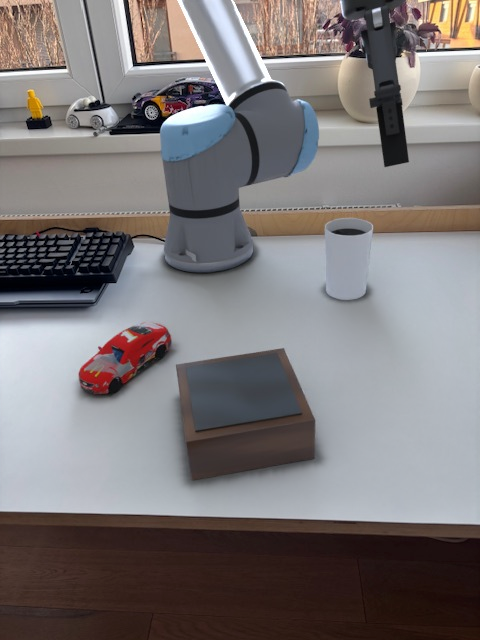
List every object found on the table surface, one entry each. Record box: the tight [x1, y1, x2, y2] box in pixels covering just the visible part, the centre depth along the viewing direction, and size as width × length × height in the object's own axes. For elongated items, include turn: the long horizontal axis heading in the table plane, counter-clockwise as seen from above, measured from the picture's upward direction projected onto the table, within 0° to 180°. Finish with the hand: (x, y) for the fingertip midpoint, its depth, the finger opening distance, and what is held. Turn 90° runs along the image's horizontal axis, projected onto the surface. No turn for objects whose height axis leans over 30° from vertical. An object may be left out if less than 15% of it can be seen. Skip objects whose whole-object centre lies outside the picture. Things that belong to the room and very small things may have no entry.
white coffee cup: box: [324, 217, 374, 301], centre depth 78 cm, size 7×7×10 cm
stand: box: [175, 347, 316, 481], centre depth 55 cm, size 12×12×5 cm
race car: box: [78, 321, 173, 395], centre depth 66 cm, size 13×5×4 cm, turn 143°
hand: (395, 161), depth 68 cm, fingers open, 13 cm apart
